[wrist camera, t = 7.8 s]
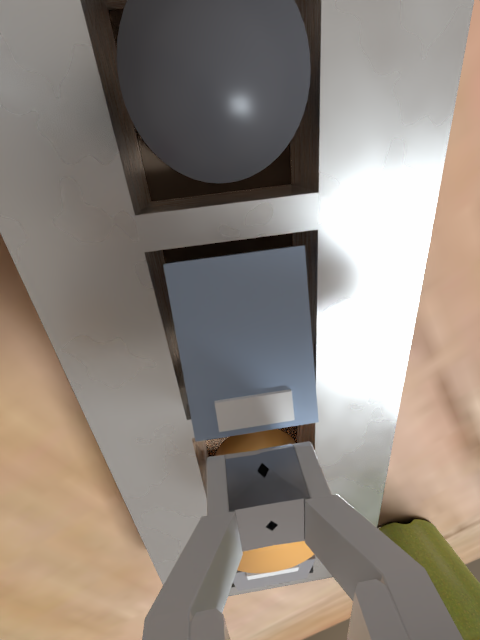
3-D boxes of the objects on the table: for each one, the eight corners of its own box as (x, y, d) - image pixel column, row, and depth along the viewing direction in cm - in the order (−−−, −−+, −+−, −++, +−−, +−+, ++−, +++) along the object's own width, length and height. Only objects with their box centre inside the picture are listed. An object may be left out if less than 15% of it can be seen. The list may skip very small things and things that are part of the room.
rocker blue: (172, 262, 10) (162, 264, 8) (289, 246, 11) (306, 245, 9) (198, 413, 12) (195, 444, 10) (303, 396, 12) (320, 424, 10)
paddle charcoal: (224, 527, 15) (228, 578, 14) (304, 514, 15) (316, 562, 14) (234, 552, 19) (238, 594, 18) (298, 541, 19) (307, 581, 18)
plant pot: (479, 525, 24) (608, 697, 16) (385, 582, 27) (458, 751, 19) (410, 486, 21) (532, 679, 13) (311, 555, 23) (363, 748, 16)
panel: (-43, -30, 8) (-165, -124, 5) (411, -70, 8) (506, -173, 6) (176, 550, 21) (172, 606, 18) (348, 520, 22) (369, 570, 19)
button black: (131, 28, 8) (88, -51, 5) (270, 14, 9) (310, -70, 5) (162, 181, 10) (144, 192, 7) (277, 168, 10) (310, 172, 7)
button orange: (208, 434, 13) (210, 523, 10) (297, 420, 13) (326, 503, 10) (220, 490, 15) (225, 580, 12) (298, 477, 15) (323, 562, 12)
